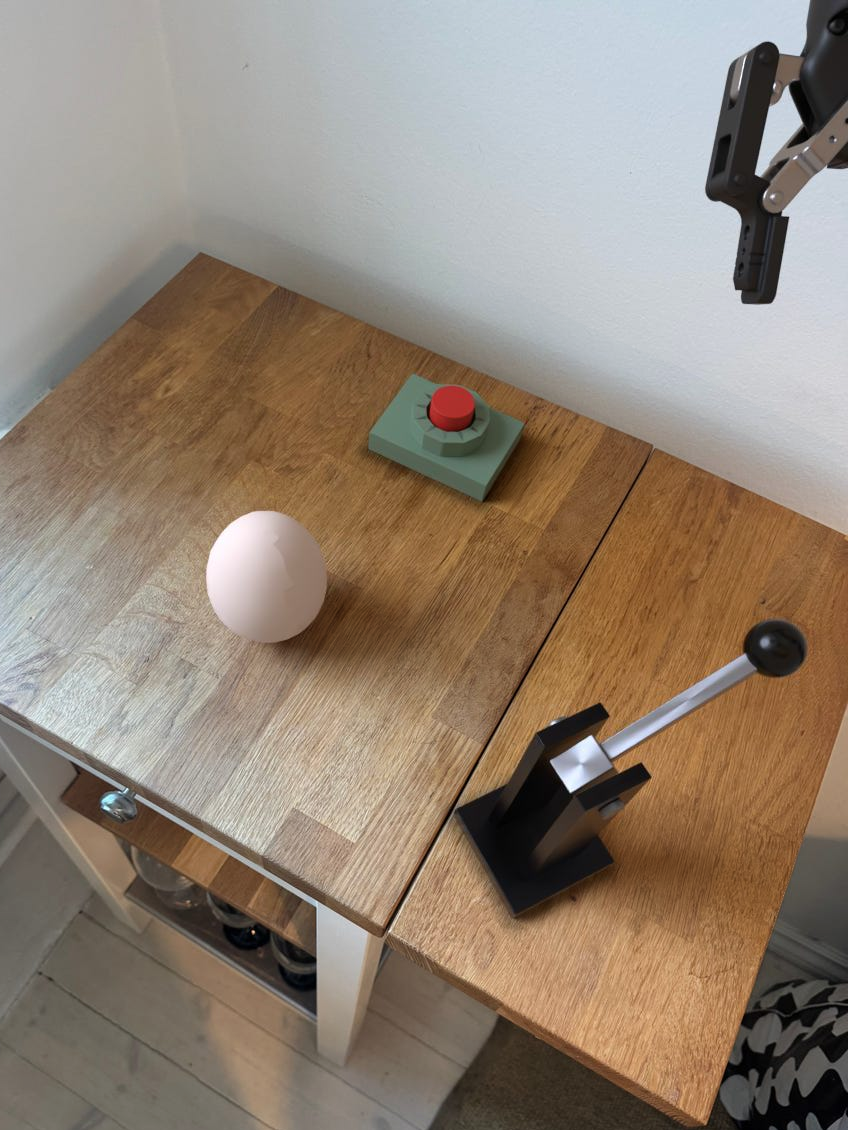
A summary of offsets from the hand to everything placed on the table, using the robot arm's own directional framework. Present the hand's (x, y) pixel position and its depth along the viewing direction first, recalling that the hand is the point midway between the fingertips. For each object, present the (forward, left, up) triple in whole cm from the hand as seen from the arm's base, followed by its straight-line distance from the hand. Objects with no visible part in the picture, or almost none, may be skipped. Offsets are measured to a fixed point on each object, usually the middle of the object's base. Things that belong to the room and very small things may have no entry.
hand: (843, 308), depth 44 cm
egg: (+25, -14, -33) cm, 43 cm away
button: (+4, -23, -29) cm, 37 cm away
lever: (+10, +10, -17) cm, 22 cm away
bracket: (+16, +10, -33) cm, 38 cm away
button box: (+4, -23, -33) cm, 40 cm away
